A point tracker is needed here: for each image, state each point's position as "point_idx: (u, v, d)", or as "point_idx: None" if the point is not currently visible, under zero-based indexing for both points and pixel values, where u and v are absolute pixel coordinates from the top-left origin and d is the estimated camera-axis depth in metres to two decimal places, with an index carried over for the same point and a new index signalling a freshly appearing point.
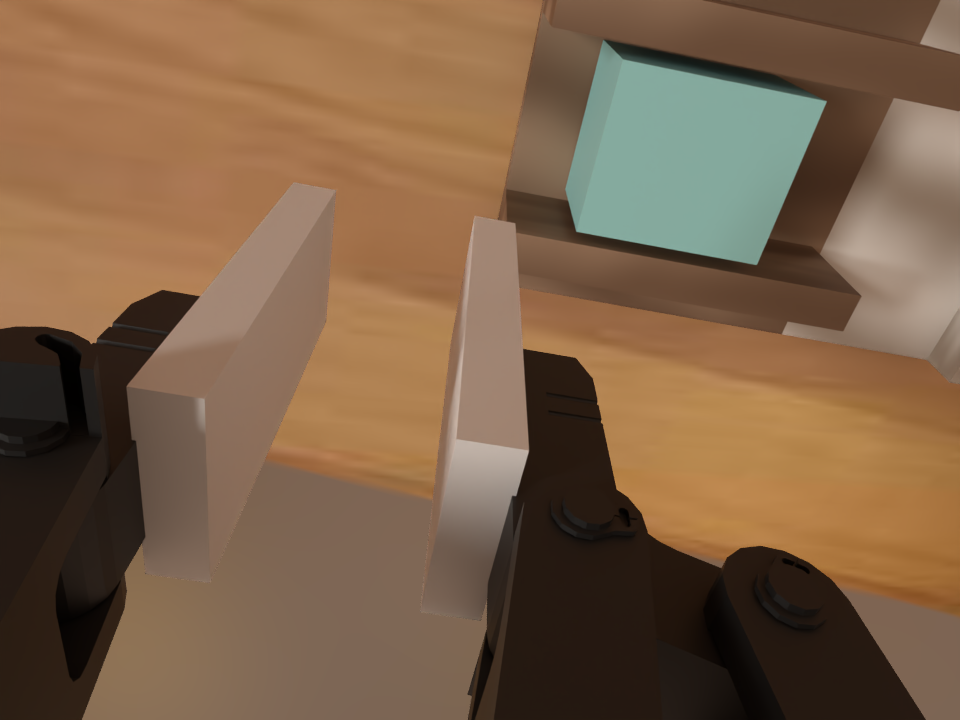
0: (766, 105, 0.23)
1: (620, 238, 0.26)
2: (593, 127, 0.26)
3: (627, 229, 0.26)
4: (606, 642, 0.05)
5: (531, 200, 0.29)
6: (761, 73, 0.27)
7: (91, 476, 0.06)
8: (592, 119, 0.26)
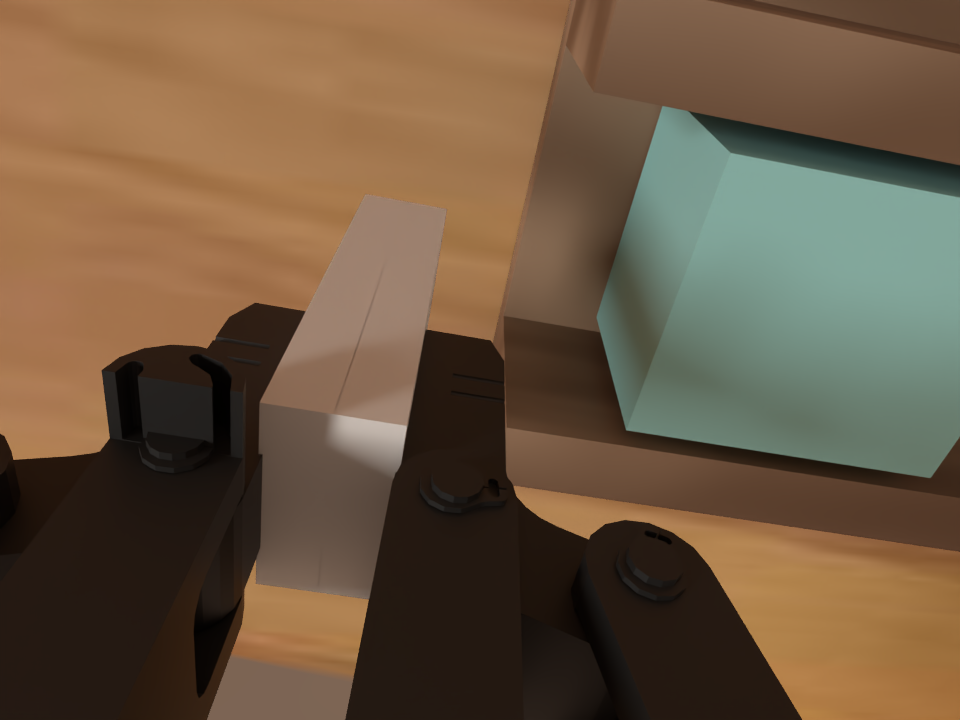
0: None
1: (701, 439, 0.15)
2: (654, 248, 0.15)
3: (714, 426, 0.15)
4: (471, 613, 0.05)
5: (543, 337, 0.19)
6: None
7: (231, 496, 0.06)
8: (651, 230, 0.15)
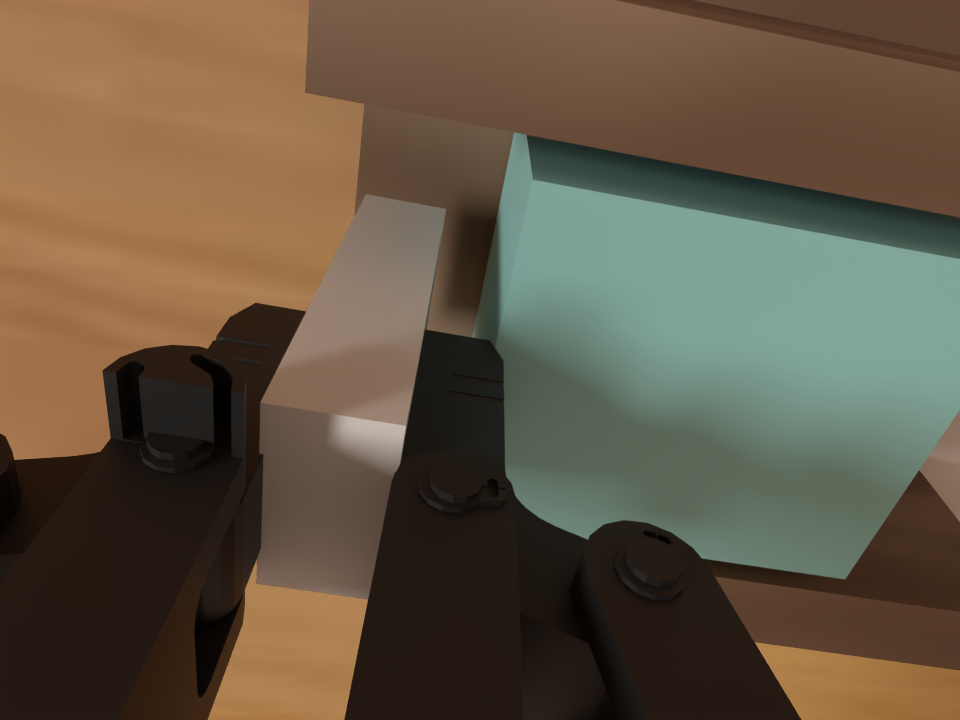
0: (897, 284, 0.09)
1: None
2: (493, 293, 0.12)
3: (566, 518, 0.12)
4: (469, 614, 0.05)
5: None
6: None
7: (231, 496, 0.06)
8: (494, 270, 0.12)
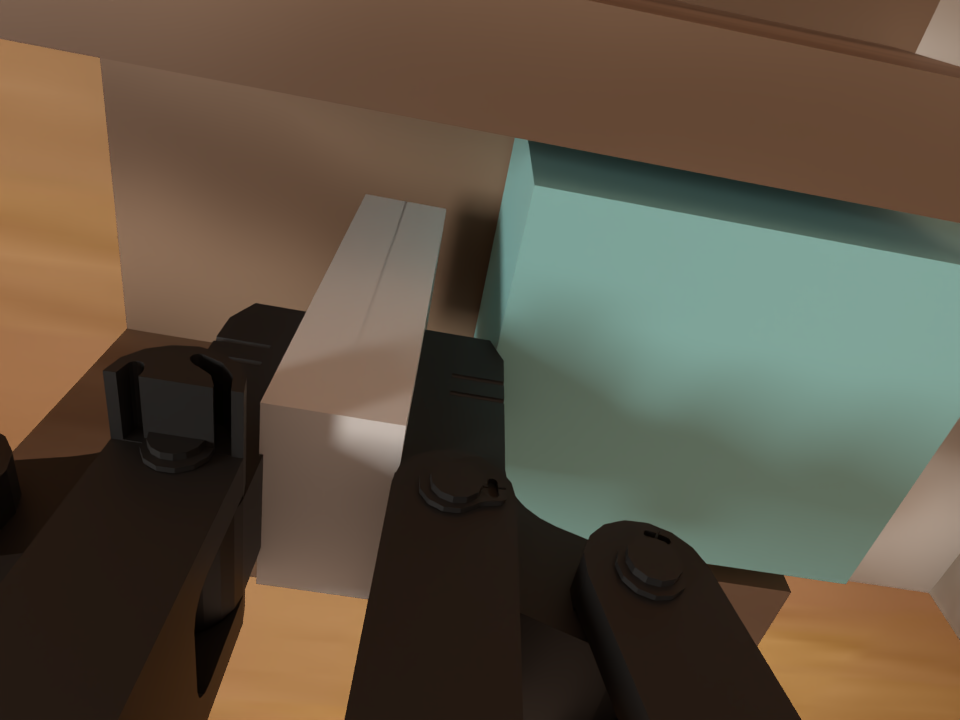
0: (899, 289, 0.09)
1: None
2: (494, 297, 0.12)
3: (567, 523, 0.12)
4: (469, 613, 0.05)
5: None
6: None
7: (231, 496, 0.06)
8: (495, 274, 0.12)
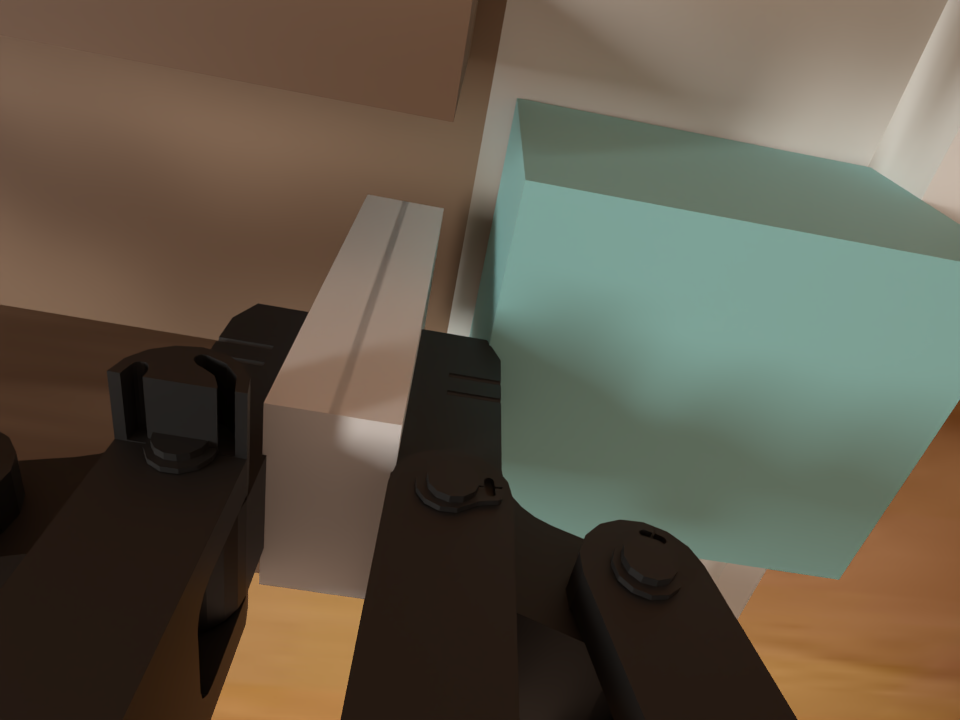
0: (889, 284, 0.09)
1: None
2: (488, 293, 0.12)
3: (560, 518, 0.12)
4: (465, 611, 0.05)
5: None
6: (844, 167, 0.13)
7: (235, 497, 0.06)
8: (489, 270, 0.12)
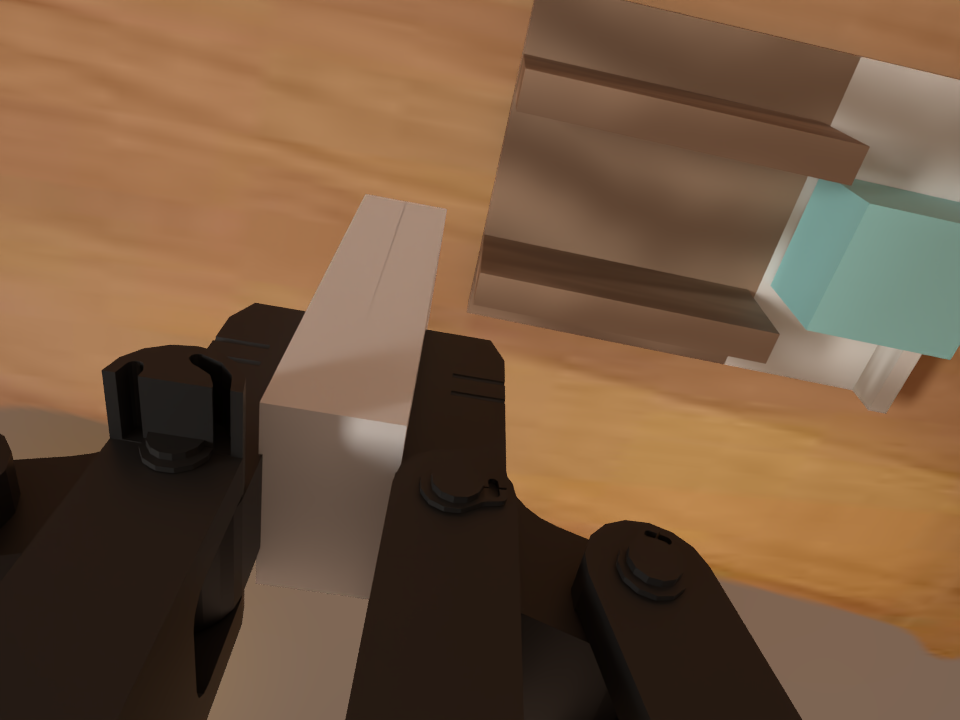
0: None
1: (841, 336, 0.32)
2: (820, 245, 0.32)
3: (848, 329, 0.31)
4: (471, 613, 0.05)
5: (504, 244, 0.34)
6: (950, 201, 0.33)
7: (230, 496, 0.06)
8: (816, 237, 0.32)
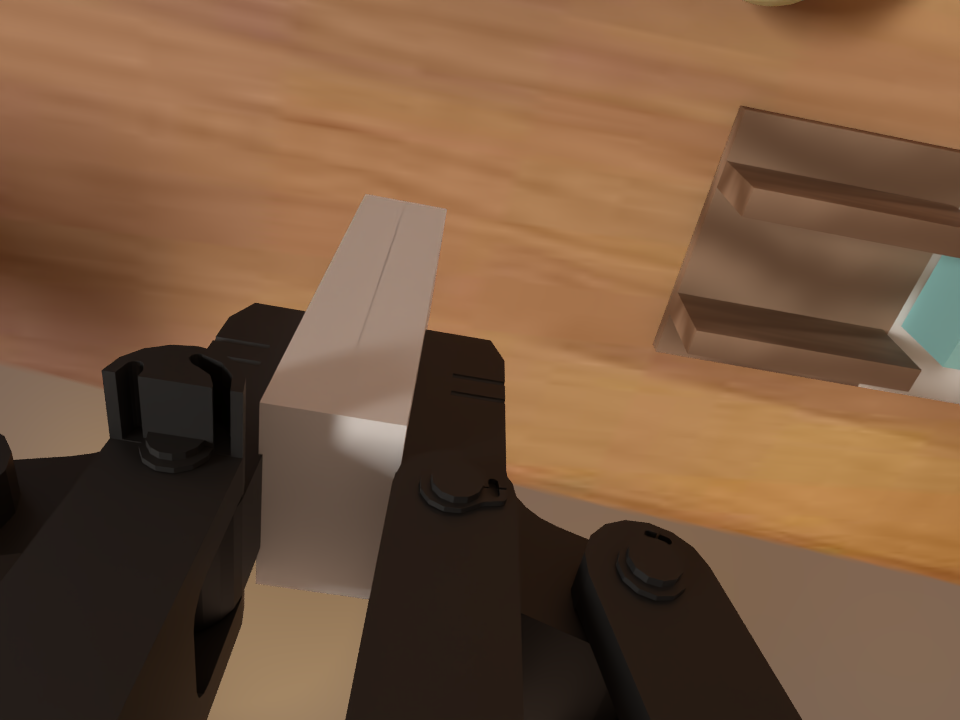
0: None
1: None
2: (952, 301, 0.41)
3: None
4: (471, 613, 0.05)
5: (697, 301, 0.44)
6: None
7: (230, 496, 0.06)
8: (948, 294, 0.42)
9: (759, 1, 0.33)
